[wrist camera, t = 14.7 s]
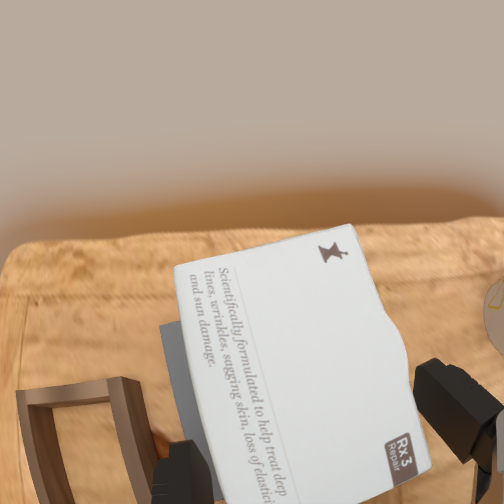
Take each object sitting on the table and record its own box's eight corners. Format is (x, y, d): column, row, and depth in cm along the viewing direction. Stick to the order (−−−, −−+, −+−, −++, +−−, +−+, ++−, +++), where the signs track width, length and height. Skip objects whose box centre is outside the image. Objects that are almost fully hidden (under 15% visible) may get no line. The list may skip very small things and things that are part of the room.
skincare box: (220, 349, 22) (156, 252, 9) (301, 329, 23) (351, 206, 9) (249, 459, 18) (223, 545, 5) (333, 436, 19) (447, 468, 6)
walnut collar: (139, 381, 22) (120, 376, 19) (181, 526, 16) (169, 541, 13) (40, 395, 21) (15, 390, 18) (72, 524, 15) (50, 533, 12)
